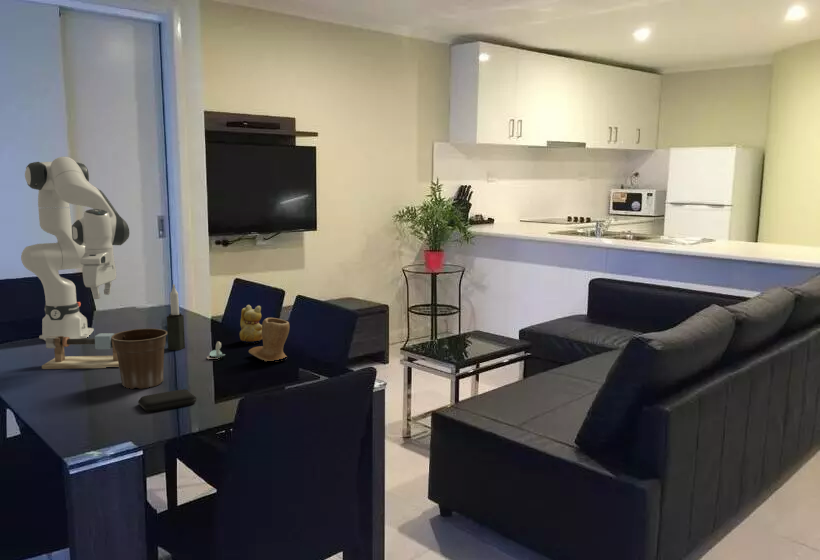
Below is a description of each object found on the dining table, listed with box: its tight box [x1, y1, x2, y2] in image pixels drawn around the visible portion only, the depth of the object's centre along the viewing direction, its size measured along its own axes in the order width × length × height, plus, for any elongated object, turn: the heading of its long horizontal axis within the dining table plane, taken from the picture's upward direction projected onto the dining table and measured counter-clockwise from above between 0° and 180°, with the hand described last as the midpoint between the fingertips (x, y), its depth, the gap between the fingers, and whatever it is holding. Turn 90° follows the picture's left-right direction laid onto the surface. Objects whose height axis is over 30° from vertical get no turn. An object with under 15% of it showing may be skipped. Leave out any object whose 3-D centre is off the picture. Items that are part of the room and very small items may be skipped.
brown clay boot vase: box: [248, 317, 291, 362], centre depth 239 cm, size 15×12×15 cm
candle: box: [166, 283, 186, 351], centre depth 251 cm, size 5×5×25 cm
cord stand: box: [41, 336, 119, 370], centre depth 231 cm, size 12×26×10 cm, turn 95°
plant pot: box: [111, 328, 168, 390], centre depth 208 cm, size 16×16×16 cm
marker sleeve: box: [94, 332, 115, 350], centre depth 231 cm, size 5×5×5 cm
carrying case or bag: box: [137, 388, 198, 413], centre depth 190 cm, size 11×3×15 cm
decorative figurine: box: [239, 304, 263, 342], centre depth 262 cm, size 10×8×15 cm
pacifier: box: [206, 341, 226, 360], centre depth 239 cm, size 7×6×6 cm
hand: (102, 296), depth 228 cm, fingers open, 8 cm apart
